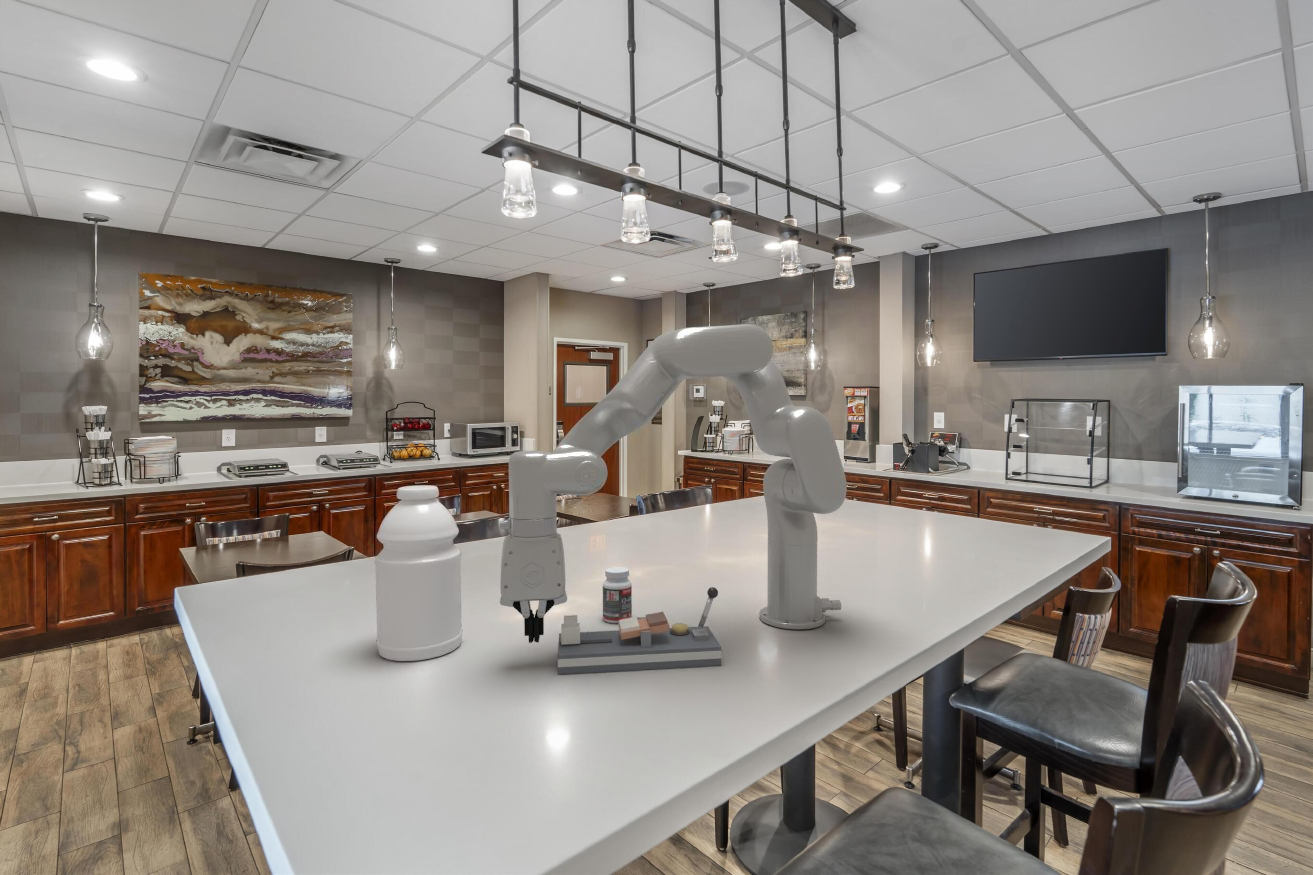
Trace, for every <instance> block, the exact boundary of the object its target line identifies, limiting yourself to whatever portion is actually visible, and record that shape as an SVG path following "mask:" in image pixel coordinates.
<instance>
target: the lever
mask: <svg viewBox="0 0 1313 875" xmlns="http://www.w3.org/2000/svg"><path fill="white" fill-rule="evenodd" d="M706 593H707V596H708V597H707V599H706V602H705V605H704V608H703V611H702V614H701V616H700V619H699V622H698V626H697V627H698V628H699V629H703V627H704V626H705V625H706V621H707V618H708V616H709V613H710V610H711V607H712V604H713V601H714V599H716V598H717V597H718V595H719V591H718V589H717V588H716V587H715V586H714V587H713V586H711V587H709V588H708V589H707V591H706Z"/></svg>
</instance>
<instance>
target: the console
mask: <svg viewBox="0 0 1313 875" xmlns="http://www.w3.org/2000/svg"><path fill="white" fill-rule="evenodd" d="M636 617H637V616H636ZM642 618H646V616H641V617H640V616H638V617H637V619H642ZM557 645H558V646H557V675H559V676H560V675H575V674H591V673H607V672H608V673H612V672H626V671H629V672H631V671H644V670H645V671H646V670H648V671H649V670H661V669H662V670H663V669H680V668H682V669H683V668H697V667H698V668H699V667H700V668H701V667H715V666H722V645H721V644H720V643H719V641H718V640H717V638H716V637H715V635H714V633H713V632H712V630H711V628H710V627H709V625H704V627H703V629H699V628H698V626H688V624H686V623H682V622H676V623H673V624H672V625H671V627H670V630H669V631H663V632H658V633H653V634H651V630H647V631H641V636H638V637H633V638H628V639H623V640H621V635H620V630H619V629H618V630H603V631H602V630H600V631H583V632H582V631H580V644H564V645H561V632H560V633H558V644H557Z"/></svg>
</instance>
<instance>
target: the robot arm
mask: <svg viewBox="0 0 1313 875" xmlns="http://www.w3.org/2000/svg"><path fill="white" fill-rule="evenodd" d="M773 353H774V345H773V341H772V338H771V336H770V334H769V333H768V332H767V331H766V330H765V329H764V328H763V327H760V326H759V325H756V324H751V323H750V324H749V323H744V324H731V325H730V324H729V325H716V326H715V325H712V326H692V327H691V326H689V327H683V328H678V329H676V330H672V331H668V332H664V333H662V334H661V335H659V336H657V337H655V338H654V339H653V341H651V343H650V344H649V345H648V346H647V347H646V348H645V349H644V350H643V352H642V354H641V355H639V357H638V358H637V359H636V361H635V362H634V363H633V364H632V366H631V367H630V368H629V369H628V370H627V372H625V374H624V375H623V376H622V377H621V379H620V380H619V381H618V382H617V383H616V384H615V385H614V387H613V388H612V389H611V390H610V391H609V392H608V393H607V394H606V395H605V396H604V397H603V398H602V399H600V400H599V401H598V402H597V404H595V406H593V407H592V409H590V410H589V411H588V412H587V413H586V414H585V415H583V417H581V418H580V419H579V420H578V421H577V423H575V425H574V426H573V427H572V428H571V429H570V430H569V431H568V432H567V434H566V435H565V436H564V437H563V438H562V440H561V441H560V442H559V444H558V445H556V447H555V448H554V449H553V451H552V452H550V451H545V450H522V451H516V452H512V454H511V455H510V456H509V458H508V513H509V514H508V516H509V517H508V518H507V519H506V520H501V521H500V522H499V530H504V531H507V532H508V535H506V536H505V537H504V539H503V544H502V551H501V563H500V584H499V586H500V595H501V596H500V599H499V605H501V606H504V607H509V608H514V609H515V610H516V611H517V612H518V613H519V614H520V615H521V616H522V618H523V619H524V620H523V621H524V622H523V623H524V629H523V630H524V636H525V637H528V643H529V644H532V643H533V642H535V643H539V642H540V636H544V634H545V633H544V631H545V630H544V629H545V628H544V627H545V626H544V625H545V624H544V622H545V621H544V620H545V619H544V617H545V615H546V614H547V613H548V612H549V611H550V610H551V609H552V608H553V607H555V606H556V605H561V604H562V605H563V604H565V603H567V601H568V594H567V591H566V580H567V579H566V562H565V549H564V543H563V539H562V535H561V534H560V533H558V531H557V530H558V529H557V527H558V524H557V520H558V518H557V516H558V515H557V506H558V505H557V495H566V496H567V495H568V496H569V495H570V496H580V497H583V496H590V495H592V494H594V493H597V492H598V491H599V490H601V489H602V488H603V487H604V485H605V483H606V482H607V479H608V478H607V477H608V474H609V473H608V468H607V467H608V466H607V463H606V462H605V460H604V458H602V456H603V455H604V454H605V453H606V452H607V451H608V449H610V448H611V447H612V446H613V445H614V444H616V443H617V442H619V440H621V439H623V438H624V437H626V436H628V435H630V434H633V433H634V432H636V431H637V432H638V431H639V430H640V429H642V428H644V427H645V426H646V425H648V424H649V423H651V421H652V420H653V419H654V417H655V416H656V414H657V413H658V412H659V411H660V410H661V409H662V407H663V406H664V405H665V403H666V402H667V401H668V400H669V398H671V396H672V394H673V393H674V392H675V391H676V390H677V389H678V387H680V385H681V383H682V382H683V381H684V380H688V379H701V378H716V377H717V378H719V377H723V378H724V379H726V380H727V381H729V382H731V384H732V385H733V386H734V387H735V389H737V391H738V393H739V394H740V396H741V400H742V402H743V404H744V407H745V410H746V413H747V417H748V420H749V424H750V426H751V429H752V433H753V436H754V440H755V443H756V444H757V446H758V449H760V450H761V451H762V453H764V454H767V455H769V456H774V457H780V458H784V459H779V460H777V461H774V462H773V463H772V464H770V466H769V467H768V468H766V471H765V474H764V476H763V482H762V491H763V496H764V497H763V498H764V501H765V507H766V508H765V509H766V517H767V518H766V520H767V605H766V606H764V607H763V608H761V609H760V611H759V613H758V614H759V619H760V620H761V622H763V623H764V624H767V625H769V626H772V627H774V628H780V629H786V630H787V629H788V630H810V629H815V628H819V627H821V626H823V625H824V624H825V622H826V615H825V614H824V613H826V611H841V610H842V602H841V600H840V599H836V600H835V599H831V600H830V598H828V597H825V598H824V597H823V598H821V597H820V596H819V595H818V538H819V537H818V526H817V525H818V524H817V520H816V517H815V514H818V515H827V514H831V513H833V512H836V511H838V509H840V508H841V506H842V505H843V504H844V502H845V499H846V496H847V488H848V487H847V479H846V478H847V477H846V474H845V471H844V470H845V469H844V467H843V463H842V460H841V455H840V452H839V449H838V445H837V442H836V438H835V435H834V432H833V430H832V426H831V425H830V422H829V421H828V419H827V418H826V417H825V415H823V413H822V412H820V411H819V410H817V409H816V408H815V407H814V408H813V407H810V406H805V405H804V406H802V405H794V404H793V401H792V398H791V397H790V393H789V390H788V389H787V386H786V382H785V380H784V377H783V375H782V373H781V371H780V369H779V368H778V366H777V365H776V364H775V363H774V362H773V360H772V357H773ZM532 601H534V602H535V601H538V605H537V606H538V607H537V609H536V610H535V613H534V611H533V610H532V607H531V602H532Z"/></svg>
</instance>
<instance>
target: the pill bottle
mask: <svg viewBox="0 0 1313 875" xmlns="http://www.w3.org/2000/svg"><path fill="white" fill-rule="evenodd" d="M604 572H605V574H604V575H605V578H606V579H605V580H604V581H603V582H602V619H603V620H604V622H607V623H609V624H618V623H619V620H621V619H627V618H632V615H633V614H632V612H633V611H632V606H633V605H632V602H633V599H632V597H633V595H632V592H633V591H632V582H631V580H630V579H629V578H628V577H629V576H630V569H629V568H628V567H624V566H613V567H608V568H606V569H605V571H604Z"/></svg>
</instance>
